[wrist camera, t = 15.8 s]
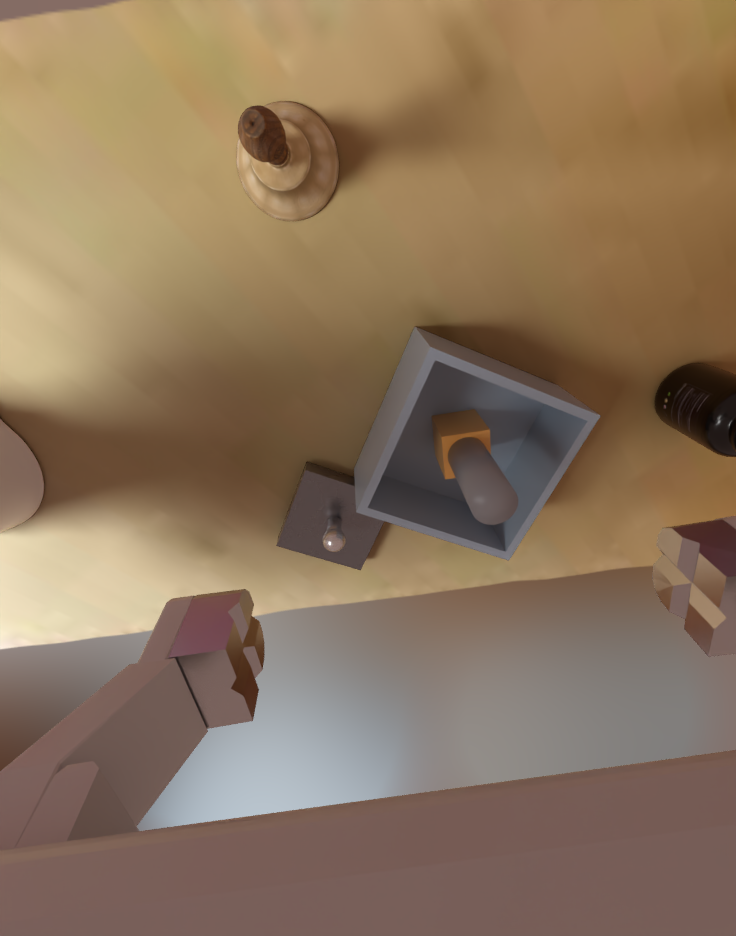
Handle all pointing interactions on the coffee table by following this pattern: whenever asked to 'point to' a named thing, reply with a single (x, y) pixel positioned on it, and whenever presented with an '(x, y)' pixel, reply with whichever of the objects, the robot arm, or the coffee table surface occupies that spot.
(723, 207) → the coffee table surface
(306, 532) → the ball stud base
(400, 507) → the bin
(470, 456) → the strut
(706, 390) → the supplement bottle
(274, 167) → the hand bell
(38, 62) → the coffee table surface
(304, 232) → the coffee table surface
